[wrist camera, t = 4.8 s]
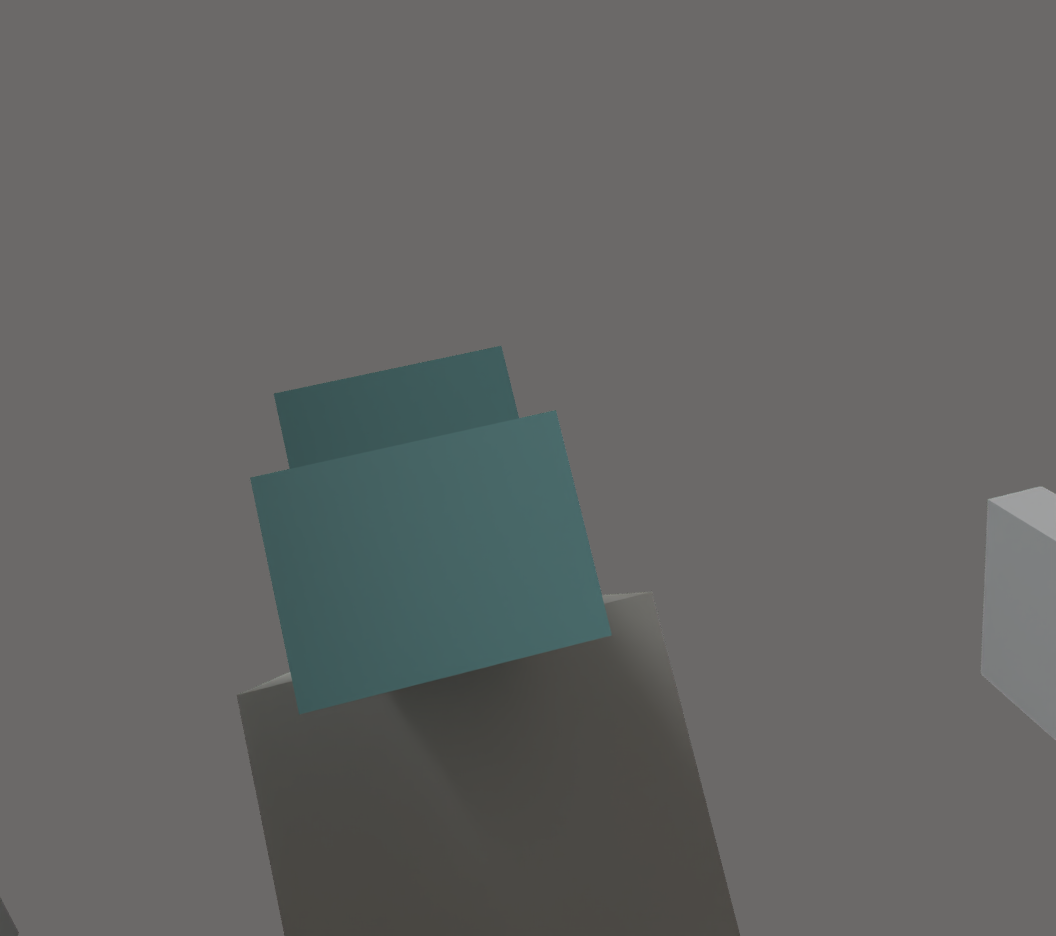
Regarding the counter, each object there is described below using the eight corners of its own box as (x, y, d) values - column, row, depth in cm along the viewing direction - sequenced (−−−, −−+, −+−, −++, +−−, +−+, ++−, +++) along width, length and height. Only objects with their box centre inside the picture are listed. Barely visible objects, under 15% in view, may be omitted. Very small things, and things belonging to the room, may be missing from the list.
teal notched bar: (611, 634, 12) (537, 338, 12) (299, 714, 11) (234, 402, 12) (494, 615, 38) (472, 518, 38) (397, 639, 37) (375, 540, 38)
